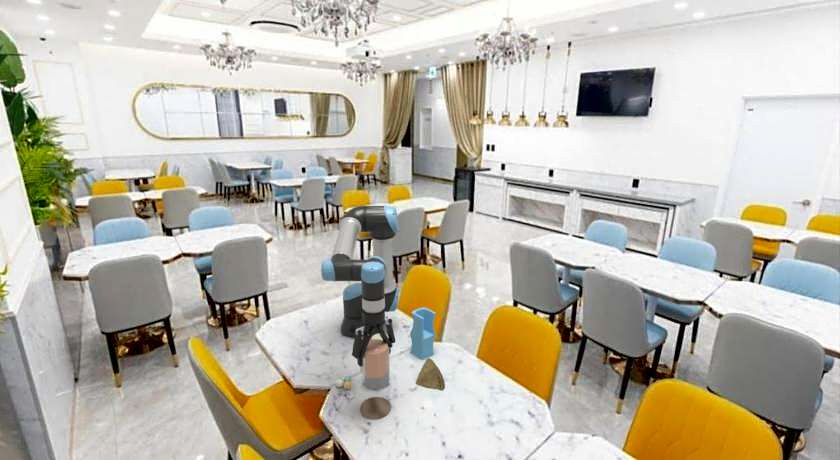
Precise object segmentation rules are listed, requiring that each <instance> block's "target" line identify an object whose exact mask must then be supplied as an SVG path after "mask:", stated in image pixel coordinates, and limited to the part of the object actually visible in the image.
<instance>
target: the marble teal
mask: <svg viewBox="0 0 840 460" xmlns="http://www.w3.org/2000/svg"><path fill="white" fill-rule="evenodd" d="M346 381H350V382H351V383H352V376H350V375H349V374H348V375H345V376H344V377H343V382H344V383H345V382H346Z"/></svg>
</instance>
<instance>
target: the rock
mask: <svg viewBox="0 0 840 460" xmlns="http://www.w3.org/2000/svg"><path fill="white" fill-rule="evenodd" d="M417 375H418V376H417V378H416V381H415V385H419V386H421V387H424V388H428V389H438V390H444V388H445V387H446V383H445V379H444V376H443V374H442V372H441V370H440V368H439V367H438V366H437V365H436V363H435V362H434V360H433V359H432V358H431V357H428V358H426V359H425V361H424V364H423V365H422V367H421V369H420V371H419V373H418V374H417Z"/></svg>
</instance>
